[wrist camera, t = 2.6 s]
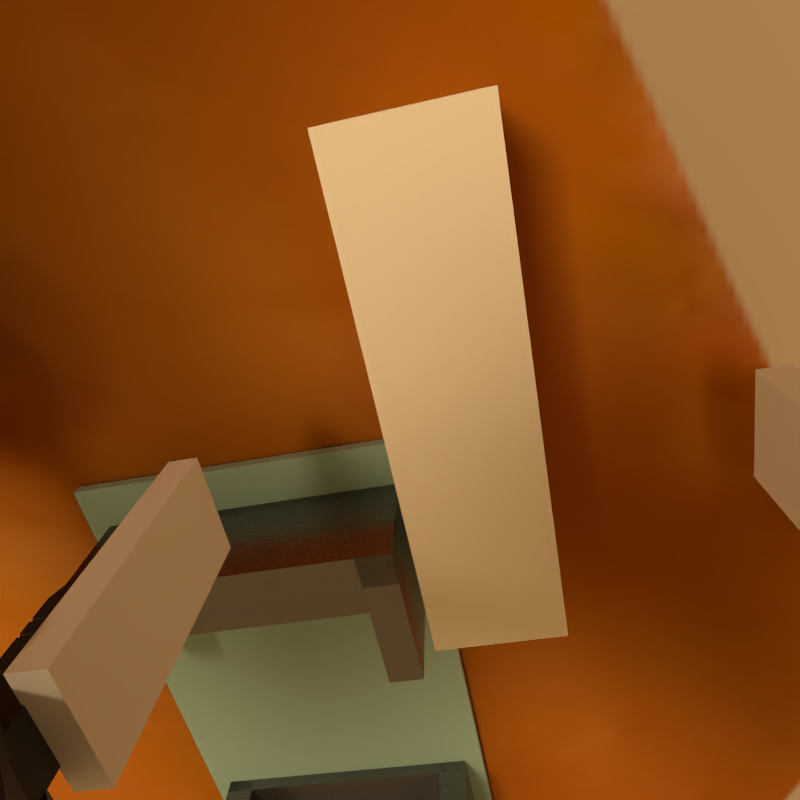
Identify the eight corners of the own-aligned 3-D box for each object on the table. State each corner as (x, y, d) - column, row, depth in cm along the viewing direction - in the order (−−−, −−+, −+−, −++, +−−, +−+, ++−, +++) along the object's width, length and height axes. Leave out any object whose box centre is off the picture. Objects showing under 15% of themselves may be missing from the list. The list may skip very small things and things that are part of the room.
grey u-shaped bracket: (109, 526, 25) (54, 599, 21) (398, 483, 24) (391, 553, 20) (159, 630, 27) (117, 712, 24) (425, 597, 26) (423, 679, 22)
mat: (78, 487, 25) (73, 492, 24) (410, 434, 23) (410, 439, 23) (259, 862, 34) (257, 870, 34) (502, 844, 33) (503, 852, 32)
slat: (343, 119, 19) (307, 128, 14) (478, 88, 18) (497, 85, 13) (435, 531, 25) (435, 651, 20) (538, 516, 25) (568, 635, 19)
